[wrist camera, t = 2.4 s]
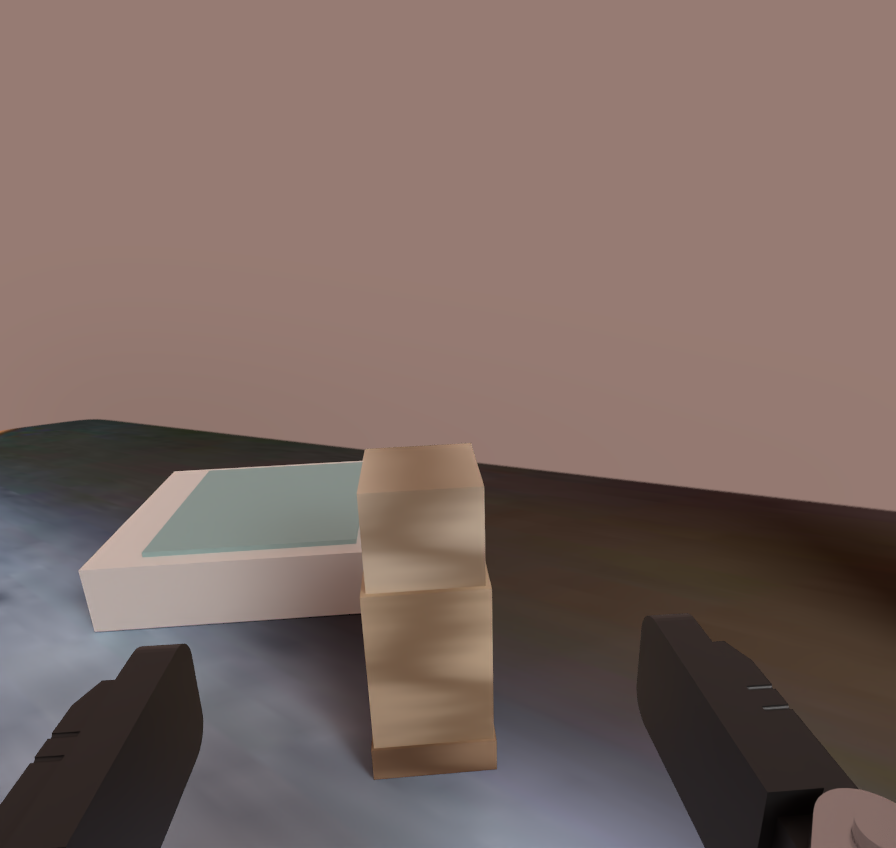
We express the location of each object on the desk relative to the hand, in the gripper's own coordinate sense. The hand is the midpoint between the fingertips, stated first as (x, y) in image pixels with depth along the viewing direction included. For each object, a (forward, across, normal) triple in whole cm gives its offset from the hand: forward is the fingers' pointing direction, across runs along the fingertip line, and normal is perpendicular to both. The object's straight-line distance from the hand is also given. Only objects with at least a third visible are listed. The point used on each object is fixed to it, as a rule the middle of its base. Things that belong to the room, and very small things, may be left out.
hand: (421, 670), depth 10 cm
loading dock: (+28, +10, +13) cm, 32 cm away
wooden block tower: (+12, 0, +13) cm, 18 cm away
